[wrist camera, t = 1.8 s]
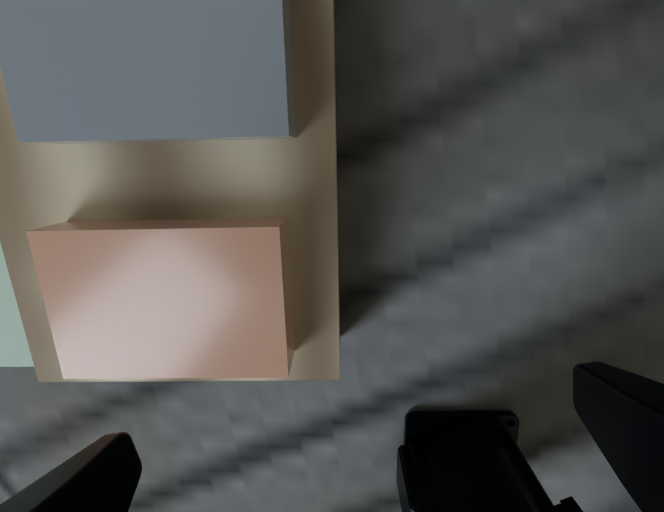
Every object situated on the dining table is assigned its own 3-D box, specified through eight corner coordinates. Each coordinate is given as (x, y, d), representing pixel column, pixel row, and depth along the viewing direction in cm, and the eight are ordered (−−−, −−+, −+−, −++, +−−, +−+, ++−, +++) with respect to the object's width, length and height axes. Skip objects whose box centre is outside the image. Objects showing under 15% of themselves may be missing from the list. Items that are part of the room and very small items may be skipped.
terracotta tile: (287, 217, 15) (279, 226, 13) (294, 351, 16) (288, 377, 14) (66, 221, 15) (26, 231, 13) (95, 352, 16) (63, 379, 15)
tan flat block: (333, -43, 16) (331, -108, 12) (340, 337, 20) (340, 380, 17) (13, -31, 16) (-91, -90, 12) (94, 339, 21) (38, 382, 17)
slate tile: (287, -51, 12) (277, -89, 10) (296, 138, 14) (288, 135, 12) (23, -41, 12) (-35, -77, 10) (62, 143, 14) (18, 142, 12)
